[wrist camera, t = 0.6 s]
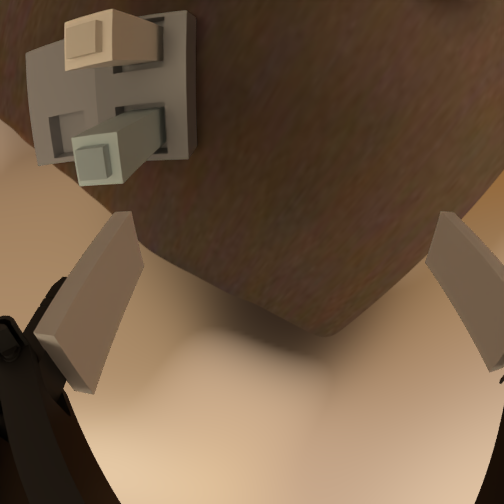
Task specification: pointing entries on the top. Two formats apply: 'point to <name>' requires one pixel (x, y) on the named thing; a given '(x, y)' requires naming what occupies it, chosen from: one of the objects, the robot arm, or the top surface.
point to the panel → (115, 93)
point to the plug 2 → (118, 146)
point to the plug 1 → (111, 41)
